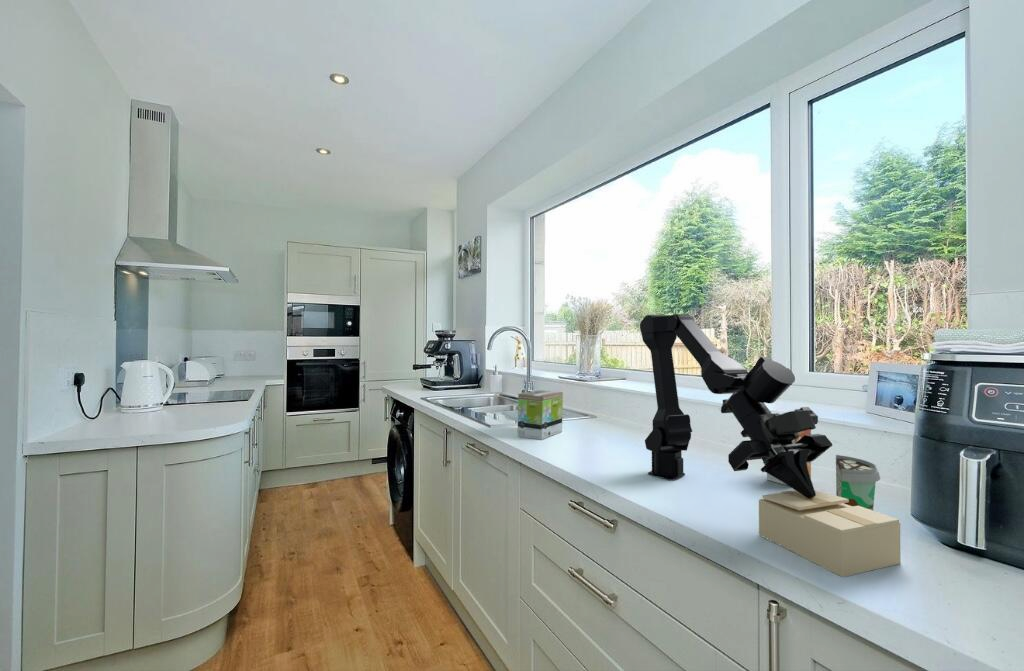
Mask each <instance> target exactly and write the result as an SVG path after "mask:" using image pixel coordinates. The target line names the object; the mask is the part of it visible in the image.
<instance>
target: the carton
mask: <svg viewBox="0 0 1024 671" xmlns="http://www.w3.org/2000/svg"><path fill="white" fill-rule="evenodd" d="M759 534H760V535H761V536H760V535H759ZM758 535H759V536H760V537H762V536H764V537H765V538H764V537H763V538H764V539H766V538H768V539H769V540H768V539H767V540H768V541H770V540H771V541H770V542H772V541H773V542H772V543H774V542H775V543H774V544H776V543H777V544H776V545H778V544H780V545H781V546H780V545H779V546H780V547H782V546H783V547H782V548H784V547H785V549H786V548H787V549H786V550H788V549H789V550H788V551H790V550H791V551H790V552H792V551H793V552H792V553H794V552H795V553H794V554H796V553H797V554H796V555H798V556H800V557H802V558H804V559H806V560H808V561H809V562H812V563H814V564H816V565H817V564H818V566H819V567H821V568H824V569H826V570H828V571H829V572H831V573H833V574H835V575H837V576H839V577H841V578H845V577H849V576H853V575H857V574H860V573H866V572H870V571H875V570H879V569H883V568H887V567H891V566H895V565H900V564H901V558H902V557H901V556H902V555H901V554H902V553H901V550H902V549H901V522H900V519H898V518H896V517H893V516H890V515H887V514H884V513H882V512H878V511H875V510H874V509H873V510H870V509H867V508H864V507H861V506H850V505H847V504H844V503H842V504H835V505H829V506H823V507H817V508H811V509H805V510H797V509H794V508H791V507H788V506H785V505H782V504H779V503H775V502H772V501H769V500H766V499H763V498H762V499H758Z"/></svg>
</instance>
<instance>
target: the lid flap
mask: <svg viewBox="0 0 1024 671" xmlns="http://www.w3.org/2000/svg"><path fill="white" fill-rule="evenodd" d="M814 490H815V493H816V496H815V497H813V498H810V499H809V498H807V497H805V496H804V495H802V494H801V493H799V492H797V491H796V490H786V491H781V492H776V493H767V494H762V496H761V498H762V499H766V500H769V501H772V502H775V503H779V504H782V505H785V506H788V507H791V508H794V509H797V510H805V509H811V508H817V507H823V506H829V505H835V504H842V503H848V502H849V499H846V498H843V497H839V496H836V495H835V494H832V493H828V492H824V491H820V490H817V489H814Z"/></svg>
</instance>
